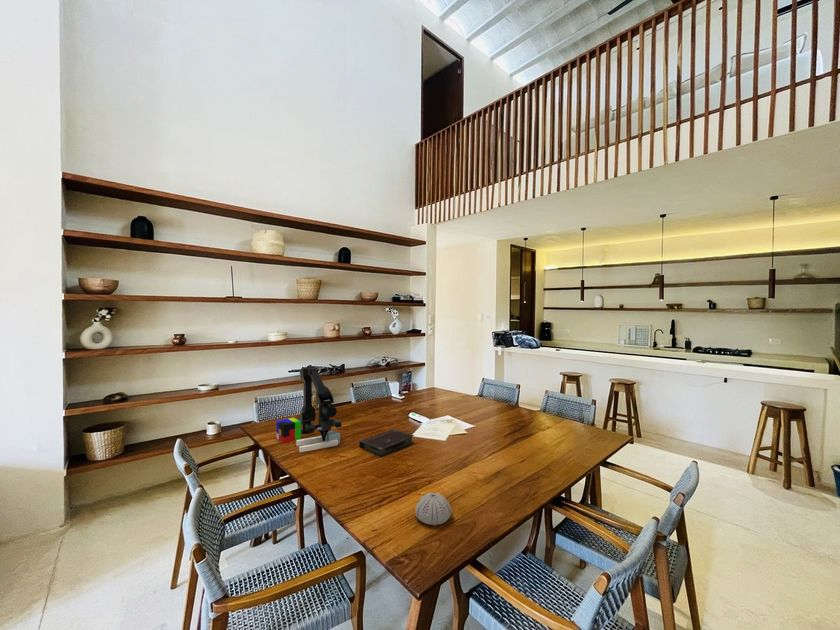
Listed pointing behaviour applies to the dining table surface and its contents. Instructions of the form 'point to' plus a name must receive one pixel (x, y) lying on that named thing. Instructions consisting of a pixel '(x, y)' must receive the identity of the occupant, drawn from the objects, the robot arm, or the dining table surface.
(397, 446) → the diary
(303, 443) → the chute
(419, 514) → the sea urchin shell
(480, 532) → the dining table surface
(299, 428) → the puzzle toy
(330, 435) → the block
